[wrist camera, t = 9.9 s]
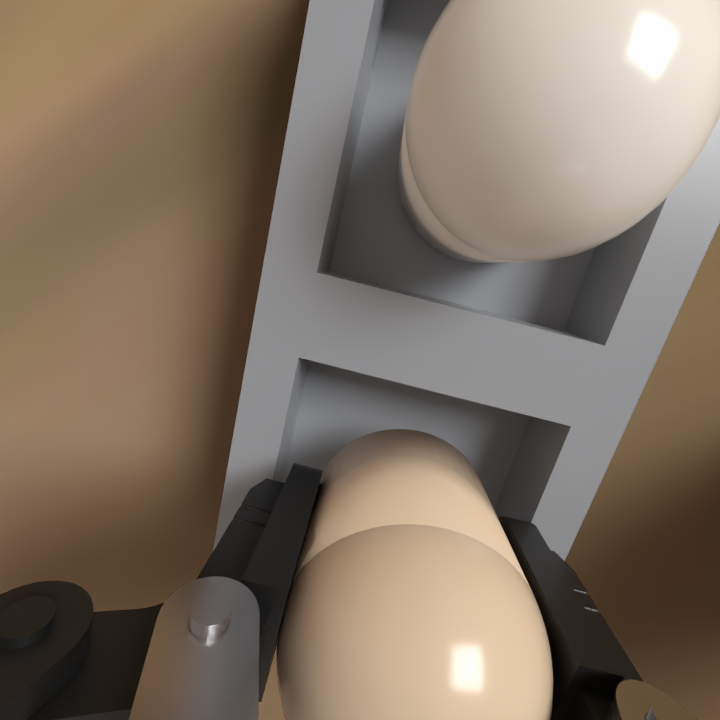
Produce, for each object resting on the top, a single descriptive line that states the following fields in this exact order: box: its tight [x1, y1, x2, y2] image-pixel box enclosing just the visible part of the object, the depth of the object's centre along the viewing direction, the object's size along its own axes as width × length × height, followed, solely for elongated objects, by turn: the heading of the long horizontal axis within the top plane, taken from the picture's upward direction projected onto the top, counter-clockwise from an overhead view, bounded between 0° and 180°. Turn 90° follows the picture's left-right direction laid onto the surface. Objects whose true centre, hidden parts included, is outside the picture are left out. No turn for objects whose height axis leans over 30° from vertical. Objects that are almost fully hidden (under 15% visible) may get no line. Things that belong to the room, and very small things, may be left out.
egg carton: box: [212, 0, 720, 561], centre depth 10 cm, size 10×19×4 cm, turn 166°
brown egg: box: [277, 429, 553, 720], centre depth 7 cm, size 4×4×6 cm
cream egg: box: [397, 0, 720, 263], centre depth 7 cm, size 4×4×6 cm
